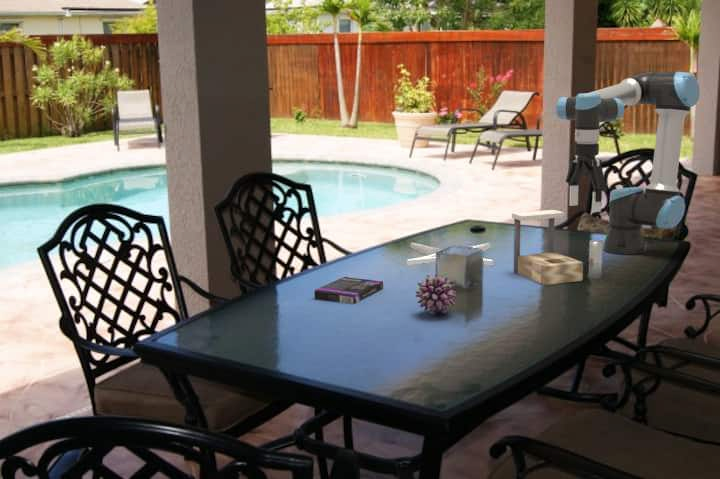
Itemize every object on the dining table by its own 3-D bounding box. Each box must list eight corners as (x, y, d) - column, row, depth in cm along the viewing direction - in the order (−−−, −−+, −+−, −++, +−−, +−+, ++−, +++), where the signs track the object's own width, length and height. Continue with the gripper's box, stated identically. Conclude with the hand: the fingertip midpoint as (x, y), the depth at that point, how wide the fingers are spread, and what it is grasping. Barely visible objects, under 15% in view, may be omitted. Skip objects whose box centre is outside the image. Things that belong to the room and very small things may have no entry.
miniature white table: (552, 267, 317) (554, 209, 313) (563, 271, 311) (564, 212, 307) (511, 272, 311) (511, 213, 307) (520, 276, 306) (521, 216, 301)
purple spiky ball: (429, 322, 256) (429, 280, 254) (407, 312, 267) (407, 271, 264) (464, 316, 261) (464, 275, 259) (441, 306, 272) (441, 266, 270)
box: (354, 307, 276) (384, 290, 293) (353, 295, 275) (383, 279, 292) (313, 301, 283) (345, 285, 299) (313, 290, 282) (345, 274, 299)
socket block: (554, 269, 314) (554, 251, 313) (582, 280, 299) (583, 262, 297) (517, 273, 310) (517, 255, 308) (544, 284, 294) (544, 266, 293)
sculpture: (406, 259, 323) (410, 242, 353) (406, 267, 324) (410, 248, 353) (493, 260, 320) (490, 242, 350) (493, 267, 321) (490, 249, 350)
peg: (596, 275, 305) (597, 239, 303) (603, 278, 301) (604, 241, 299) (586, 276, 304) (587, 240, 301) (593, 279, 300) (594, 242, 297)
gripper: (556, 139, 306) (554, 203, 310) (598, 146, 283) (595, 215, 287) (576, 138, 308) (574, 202, 312) (619, 145, 285) (617, 213, 289)
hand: (584, 208), depth 300 cm, fingers open, 13 cm apart
